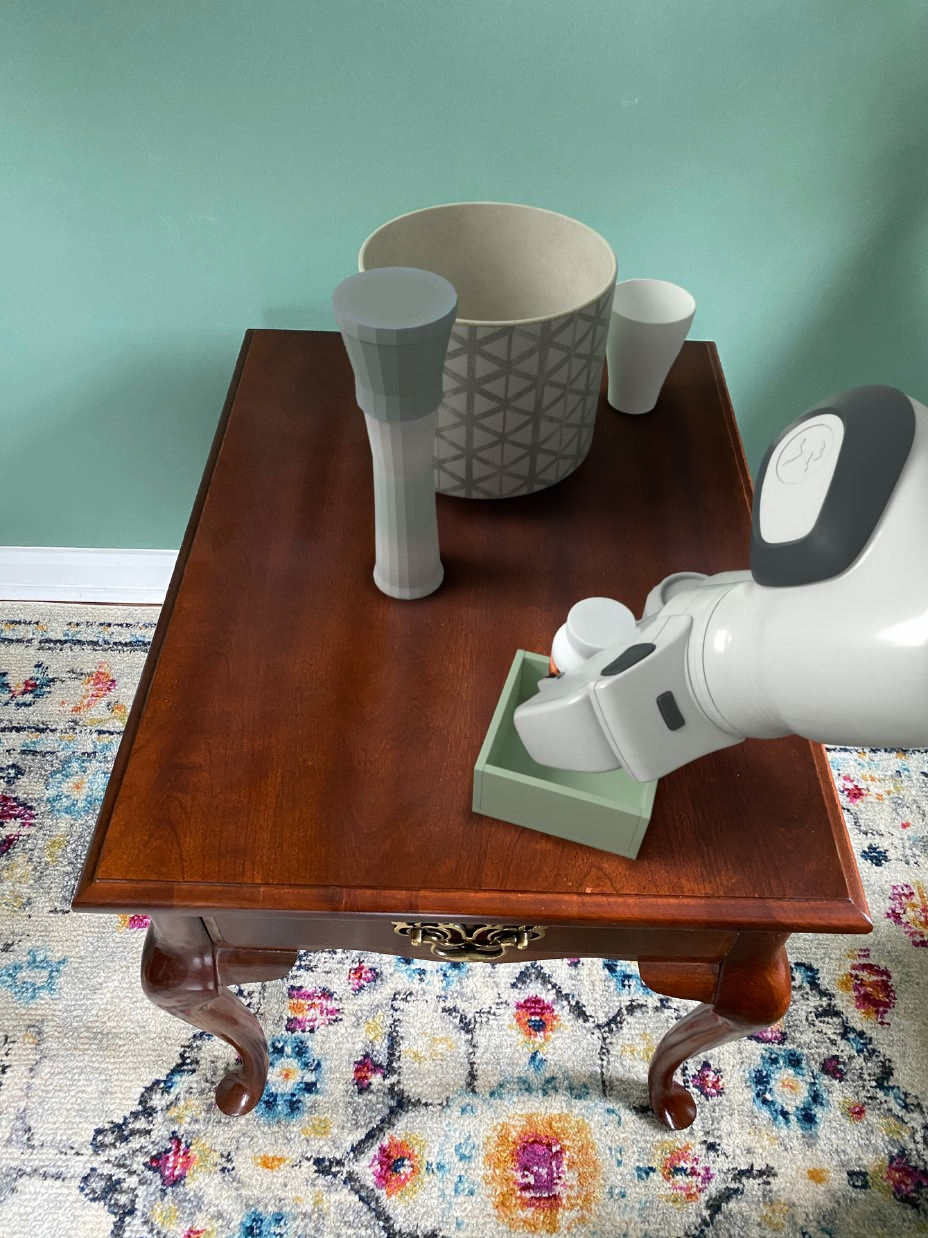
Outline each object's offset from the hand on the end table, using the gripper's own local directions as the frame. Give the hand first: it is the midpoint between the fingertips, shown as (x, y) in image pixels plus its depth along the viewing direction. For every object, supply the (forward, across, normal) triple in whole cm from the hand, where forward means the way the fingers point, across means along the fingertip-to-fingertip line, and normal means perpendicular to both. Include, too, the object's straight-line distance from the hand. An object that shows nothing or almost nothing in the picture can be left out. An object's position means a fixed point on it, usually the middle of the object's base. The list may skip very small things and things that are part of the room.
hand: (585, 661), depth 62 cm
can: (+10, -13, +10) cm, 19 cm away
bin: (+9, 0, +10) cm, 14 cm away
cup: (+34, -44, -14) cm, 57 cm away
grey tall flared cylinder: (+29, -3, -9) cm, 30 cm away
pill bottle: (+4, 0, +5) cm, 6 cm away
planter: (+36, -22, -16) cm, 45 cm away
